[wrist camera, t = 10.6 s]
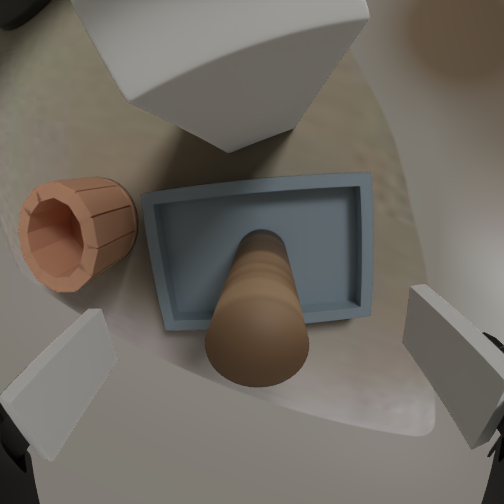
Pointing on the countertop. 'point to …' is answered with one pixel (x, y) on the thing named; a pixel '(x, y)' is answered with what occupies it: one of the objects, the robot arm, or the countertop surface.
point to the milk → (223, 59)
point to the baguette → (258, 316)
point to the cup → (76, 230)
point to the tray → (271, 218)
